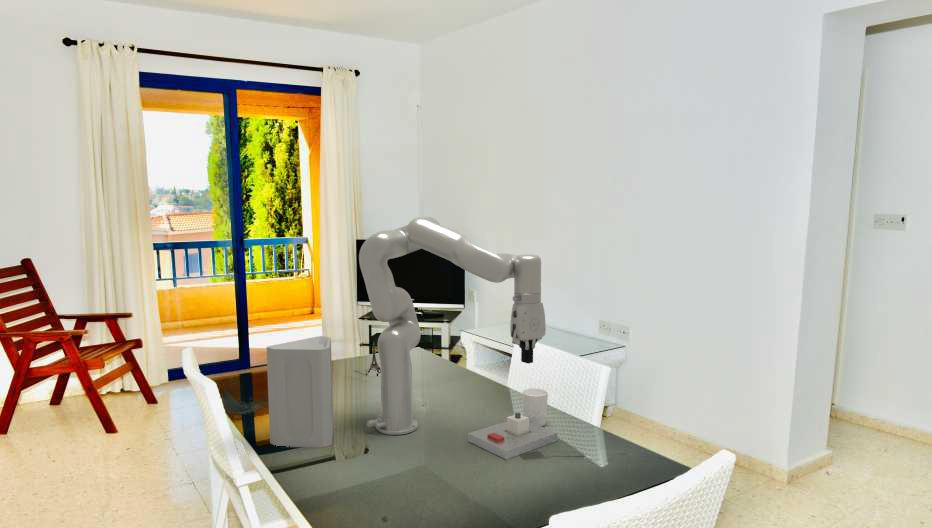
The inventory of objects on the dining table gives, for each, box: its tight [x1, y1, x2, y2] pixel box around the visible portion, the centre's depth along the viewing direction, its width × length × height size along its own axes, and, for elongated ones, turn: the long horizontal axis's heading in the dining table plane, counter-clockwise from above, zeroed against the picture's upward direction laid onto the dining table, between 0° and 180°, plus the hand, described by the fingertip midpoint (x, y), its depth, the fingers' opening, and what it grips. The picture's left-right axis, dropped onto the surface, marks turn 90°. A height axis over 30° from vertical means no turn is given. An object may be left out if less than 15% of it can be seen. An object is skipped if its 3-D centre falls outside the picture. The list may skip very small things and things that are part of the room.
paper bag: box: [266, 335, 334, 448], centre depth 173 cm, size 19×15×28 cm
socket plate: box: [467, 420, 559, 460], centre depth 172 cm, size 20×16×3 cm
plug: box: [506, 412, 529, 437], centre depth 173 cm, size 4×4×7 cm
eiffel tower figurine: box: [367, 342, 381, 374], centre depth 244 cm, size 15×10×13 cm
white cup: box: [521, 387, 549, 427], centre depth 186 cm, size 8×8×10 cm
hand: (527, 362), depth 171 cm, fingers closed
